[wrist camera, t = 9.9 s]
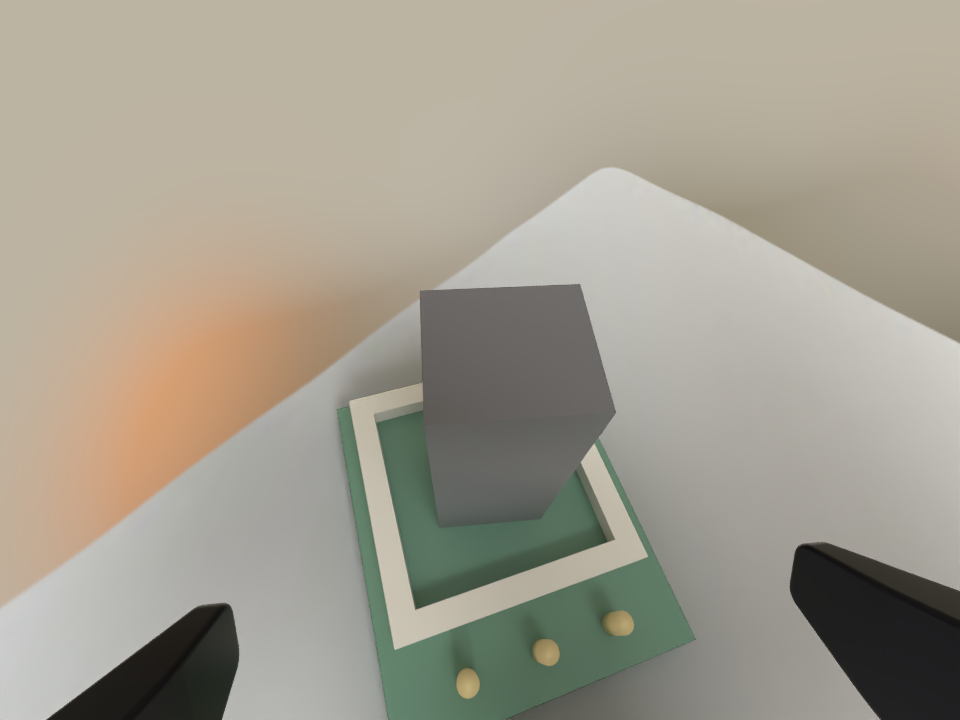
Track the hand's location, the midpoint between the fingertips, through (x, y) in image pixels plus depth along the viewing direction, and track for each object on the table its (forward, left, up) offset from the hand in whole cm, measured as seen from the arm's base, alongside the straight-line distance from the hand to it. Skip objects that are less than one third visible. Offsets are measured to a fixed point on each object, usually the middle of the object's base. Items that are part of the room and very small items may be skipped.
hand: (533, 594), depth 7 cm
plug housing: (+5, -2, -13) cm, 14 cm away
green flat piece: (+4, -2, -14) cm, 14 cm away
